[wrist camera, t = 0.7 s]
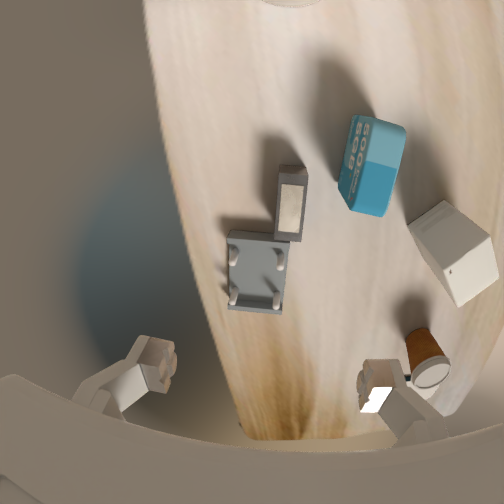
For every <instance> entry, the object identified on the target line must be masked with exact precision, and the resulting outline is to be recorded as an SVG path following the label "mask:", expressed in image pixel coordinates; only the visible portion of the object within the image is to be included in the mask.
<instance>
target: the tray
mask: <svg viewBox="0 0 504 504" xmlns="http://www.w3.org/2000/svg"><path fill="white" fill-rule="evenodd" d="M227 244H229V262H228V263H229V298H230V299H229V302H228V309H229V310H238V311H248V312H257V313H268V314H279V315H282V303H283V295H284V287H285V278H286V270H287V261H288V251H289V247H290V241H284V240H274V234H273V233H261V232H249V231H237V230H230V233H229V235H228V237H227Z"/></svg>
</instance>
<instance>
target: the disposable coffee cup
mask: <svg viewBox="0 0 504 504" xmlns="http://www.w3.org/2000/svg"><path fill="white" fill-rule="evenodd" d="M406 347H407V352H408V358H409V364H410V370H411V384H412V385H414V386H415V388H417V389H419V390H427V389H431V388H434V387H436V386H438V385H439V384H441V383H442V382H443V381H445V380H446V379H447V378H448V376H449V375H450V373H451V361H450V359H449V358H447V357H446V356H445V354H444V353H443V351H442V350H441V348H440V347H439V345H438V343H437V342H436V340H435V339H434V337H433V336H432V335H431V333H430V331H429V330H428V329H425V328H420V329H417V330H415V331H413V332H412V333H411V334H410V335H409V336H408V337H407V339H406Z"/></svg>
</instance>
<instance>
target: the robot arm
mask: <svg viewBox="0 0 504 504" xmlns="http://www.w3.org/2000/svg"><path fill="white" fill-rule="evenodd" d="M262 1H264V2H267V3H270V4H273V5H277V6H283V7H300V6H306V5H310V4H313V3H315V2H318V1H320V0H262ZM174 348H175V347H174V343H173V342H172V341H167V340H162V339H158V338H153V337H148V336H143V335H140V336H139V337H138V339H137V340H136V342H135V344H134V345H133V347H132V349H131V351H130V353H129V354H128V356H127V358H126V359H125V360H121V361H119V362H117V363H115V364H114V365H112V366H110V367H108V368H106V369H104V370H103V371H101V372H99V373H97V374H95V375H93V376H92V377H90V378H88V379H86V380H84V381H83V382H82V383H81V385H80V386H79V388H78V390H77V391H76V393H75V395H74V396H73V398H72V400H71V401H69V400H67V399H65V398H62V397H60V396H58V395H56V394H54V393H52V392H49V391H47V390H45V389H43V388H41V387H39V386H37V385H35V384H33V383H32V382H30V381H28V380H26V379H24V378H22V377H21V376H19V375H15V374H12V375H8V376H5V377H3V378H0V504H504V423H501V424H497V425H494V426H491V427H488V428H485V429H481V430H478V431H474V432H471V433H467V434H464V435H460V436H455V437H451V438H449V436H448V432H447V429H446V425H445V422H444V418H443V416H442V415H441V414H440V413H439V412H438V411H437V410H435V409H434V408H433V407H432V406H431V405H430V404H429V403H428V402H427V401H426V400H424V399H423V398H422V397H421V396H420V395H419V394H418V393H417V392H416V391H414V390H413V389H412V388H411V387H407V384H406V380H405V377H404V374H403V371H402V368H401V364H400V361H399V360H398V359H366V360H365V361H364V363H363V370H362V371H360V372H359V374H358V377H357V392H358V393H359V394H360V395H361V396H360V398H359V400H358V401H359V407H360V412H378V414H379V415H380V416H381V418H382V419H383V420H384V421H385V423H386V424H387V425H388V427H389V428H390V429H391V430H392V432H393V433H394V434H395V435H396V437H397V438H398V439H399V440H398V441H397V442H396V443H395V444H394V445H393V446H392V448H387V449H376V450H365V451H347V452H295V451H294V452H293V451H277V450H264V449H254V448H245V447H236V446H229V445H222V444H216V443H211V442H205V441H199V440H194V439H189V438H185V437H180V436H176V435H171V434H167V433H163V432H160V431H155V430H152V429H148V428H145V427H141V426H138V425H135V424H131V423H128V422H126V420H125V418H124V417H123V415H122V413H121V412H122V411H123V410H125V409H126V408H127V407H129V406H130V405H131V404H132V403H134V402H135V401H136V400H137V399H139V398H140V397H141V396H143V395H144V394H145V393H146V392H148V390H151V391H156V392H161V393H167V391H168V388H169V386H170V383H171V381H170V377H171V376H172V375H173V374H174V373H175V370H176V365H177V357H176V354H175V353H174V352H173V351H174Z"/></svg>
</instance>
